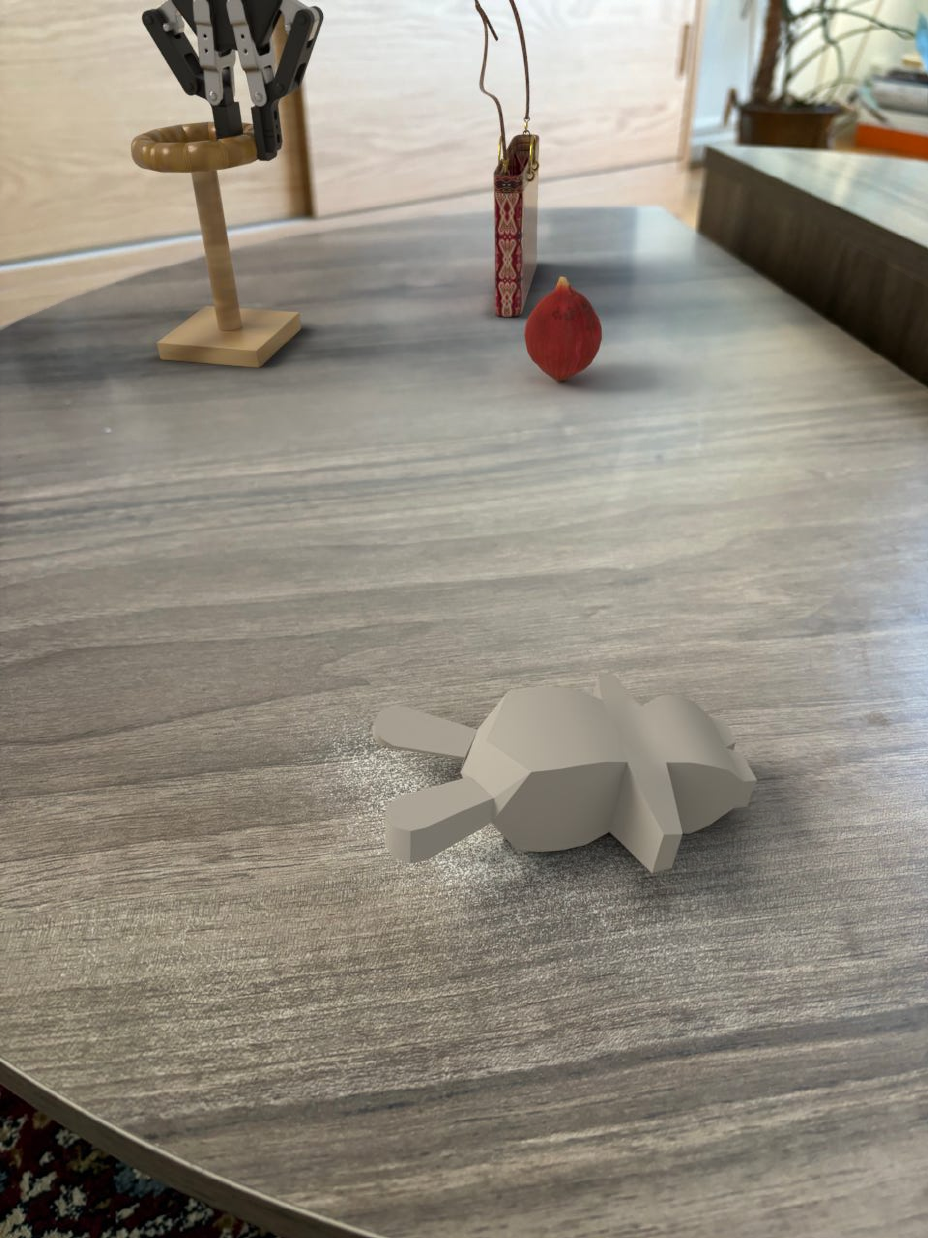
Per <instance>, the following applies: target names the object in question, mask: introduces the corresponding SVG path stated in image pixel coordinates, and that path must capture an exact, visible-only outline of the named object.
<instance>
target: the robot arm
mask: <svg viewBox="0 0 928 1238" xmlns="http://www.w3.org/2000/svg"><path fill="white" fill-rule="evenodd" d="M281 16H283V30H284V32H285V34H286V35H287V38H286V41H285V44H284V48H283V50H282V53H281V56H280V59H279V62H278V64H277V65H278V66H277V68H275V64H276V61H277V60H276V53H275V48H274V43H273V37H272V36H273V34H274V32H275V30H276V27H277V25H278V24H279V21H280V18H281ZM324 18H325V17H324V12H323V10H322V9H321V8H320V7H319V6H317V5H311V6H307V5H306V4H305V3H302V2H301V1H300V0H163V1H162V2H161V3H160V4H159V5H157V6H156V7H154V8H150V9H146V10H144V11H143V12H142V14H141V21H142V25H143V26H144V27H145V30H146V31H147V33H148V34H149V36H150V37H151V39H152V41H153V43H154V44H155V46H156V48H157V49H158V51H159V53H160V54H161V56H162V57H163V59H164V61H165V63H166V64H167V65H168V67H169V69H170V70H171V72H172V73H173V75H174V77H175V79H176V80H177V82H178V83H179V85H180V86H181V88H182V91H184V93H185V94H186V95H188V96H189V97H191V96H192V97H193V96H196V97H199V98H202V99H204V100H205V101H207V102H208V105H210V107H211V113H212V119H213V122H214V126H215V132H216V138H217V140H219V139H224V138H229V137H234V136H238V135H242V134H243V127H242V122H243V121H242V113H241V107H240V101H235V95H236V85H235V72H234V70H235V69H234V68H235V65H236V60H237V57H236V52H237V55H238V60H239V63H240V68H241V70H242V71H243V72H244V73H245V76H246V82H247V86H248V91H249V95H250V99H251V102H252V103H253V104H254V105H253V106H251V107H250V113H251V120H252V124H253V128H254V136H255V143H256V147H257V157H258V161H260V162H270V161H272V160H274V159H275V158H277V156H278V151H280V150H281V149H282V147H283V144H284V143H283V134H282V125H281V116H280V110H279V109H280V108H279V104H280V101H281V99H282V98H283V97H286V96H288V95H291V94H293V93H294V92H297V91H299V90H300V88H301V85H302V83H303V80H304V77H305V74H306V71H307V68H308V66H309V62H310V59H311V57H312V53H313V52H314V51H313V50H314V48H315V45H316V42H317V39H318V36H319V33H320V31H321V28H322V25H323V22H324ZM183 19H184V20H183ZM185 23H186V25H188V27H189V28H190V30H191V31H192V32H193V34H194V35H195V36H196V39H197V50H198V53H197V52H196V50H195V48H194V47H193V45H192V43H191V41H190V40H189V38H188V36H187V35H186V33H185V32H184V31H185Z"/></svg>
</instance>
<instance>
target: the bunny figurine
mask: <svg viewBox="0 0 928 1238" xmlns="http://www.w3.org/2000/svg"><path fill="white" fill-rule="evenodd" d="M593 688H594V689H593V693H592V694H590V693H588V692H586V691H583V690H581V689H576V688H569V687H561V686H530V687H524V688H517V689H512V690H508V691H506V693H504V695H503V697H502V698H501V699H500V700H499V702H498V703H497V704H496V706H495V707H494V708H493V709H492V711H491V712H490V713H489V715H488V716H487V717H486V718H485V720H484V721H483V722H482V723H481V725H479V727H478V728H477V729H476V728H473V727H471V726H468V725H465V724H461V723H458V722H455V721H453V720H449V719H446V718H443V717H440V716H436V715H433V714H430V713H427V712H423V711H421V710H417V709H413V708H411V707H405V706H399V705H394V704H393V705H391V706H388V707H385V708H384V709H382V710H380V711H379V712H378V714H377V716H376V718H375V720H374V721H373V726H372V732H371V733H372V737H373V739H374V740H375V742H376V743H377V744H378V745H379V746H382V747H385V748H389V749H391V750H397V751H402V752H403V751H404V752H410V753H417V754H424V755H429V756H435V757H441V758H448V759H454V760H459V761H462V763H461V767H460V775H461V776H462V777H461V778H459V779H456V780H452V781H449V782H445V783H442V784H439V785H435V786H431V787H427V788H424V789H423V788H422V789H421V790H417V791H413V792H409V793H406V794H402V795H399V796H398V797H396V798H395V799H393V800H392V801H390V802H388V804H387V806H386V808H385V811H384V820H385V821H384V846H385V848H386V850H387V851H388V853H389V854H390V855H391V856H392V858H393V859H395V860H398V861H401V862H405V863H407V864H409V865H411V864H416V863H419V862H423V861H428V860H430V859H432V858H433V857H436V856H437V855H439V854H440V853H442V852H444V851H445V850H447V849H449V848H452V847H453V846H454V845H456V844H458V843H459V842H461V841H463V840H465V839H467V838H468V837H470V836H471V835H473V834H474V833H477V832H478V831H480V830H482V829H483V828H485V827H487V826H488V825H490V824H492V825H493V826H494V827H495V829H496V830H498V832H499V833H500V834H501V835H503V837H504V838H505V839H506V841H507V842H508V843H509V844H510V845H512V847H513V848H514V849H515V850H516V851H520V852H521V851H523V852H535V853H544V852H557V851H565V850H569V849H573V848H578V847H582V846H587V845H589V844H590V843H593V842H594V841H595V840H597V839H599V838H601V837H603V836H605V835H606V834H608V833H610V834H611V835H612V836H613V837H614V838H615V839H616V840H617V841H618V842H620V844H622V846H624V847H625V849H626V850H628V851H629V852H630V853H631V855H633V856H634V857H635V858H636V859H637V860H638V861H639V862H640V863H641V864H642V865H643V866H644V867H645V868H646V869H647V870H648V871H649V872H650V873H651V874H653V873H657V872H662V871H666V870H670V869H672V868H673V865H674V863H675V860H676V856H677V853H678V850H679V847H680V844H681V840H682V837H683V834H688V835H690V834H692V833H695V832H697V831H700V830H701V829H704V828H706V827H709V826H711V825H712V824H714V823H715V822H717V821H718V820H719V819H721V818H722V817H723V816H725V815H726V814H728V813H729V812H730V811H732V810H733V809H737V808H738V809H739V808H748V805H749V803H750V800H751V798H752V795H753V793H754V789H755V786H756V785H757V781H758V780H757V778H756V775H755V774H754V772H753V770H752V769H751V766H750V765H749V763H748V761H747V759H746V757H745V756H744V754H743V752H741V751H739V750H736V749H735V746H736V743H737V740H736V738H735V736H734V735H733V733H732V730H731V729H730V727H729V726H728V723H727V722H726V720H725V717H724V716H723V715H722V716H721V715H719V716H718V715H717V716H713V715H712V716H710V715H709V714H708V713H706V712H705V710H704V709H702V708H701V707H700V706H699V705H698V703H696V702H695V701H693V700H691V699H688V698H686V697H684V696H682V695H680V694H677V693H676V694H662V695H658V696H656V697H655V698H653V699H651V700H650V701H649V700H648V702H646V703H644V704H642V705H641V704H640V703H639V702H638V701H637V700H636V699H635V697H634V696H633V695H632V694H631V693H630V691H629V690H628V689H627V687H625V685H624V684H623V683H622V682H621V681H620V679H619V678H618V677H617V675H615V674H611V673H605V672H604V673H603V672H599V671H598V672H597V675H596V679H595V683H594V687H593ZM734 749H735V750H734Z"/></svg>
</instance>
